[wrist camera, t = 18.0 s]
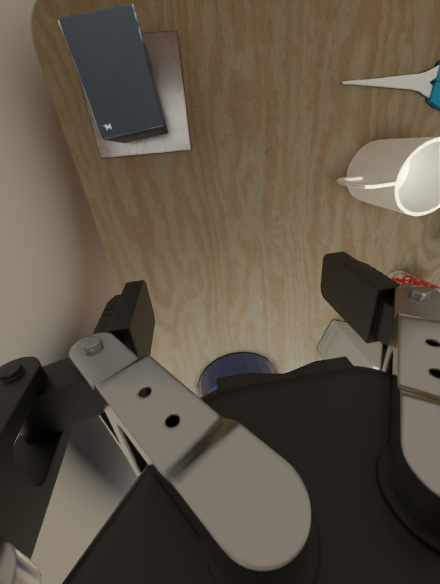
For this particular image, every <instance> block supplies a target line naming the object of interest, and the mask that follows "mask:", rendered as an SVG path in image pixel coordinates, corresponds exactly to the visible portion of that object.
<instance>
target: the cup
mask: <svg viewBox="0 0 440 584" xmlns="http://www.w3.org/2000/svg"><path fill="white" fill-rule="evenodd" d="M336 183H338V184H341V185H343V186H347V188H348V190H349V192H350V194H351V195H352V196H353V197H354V198H355V199H357V200H359V201H363V202H366V203H370V204H373V205H377V206H380V207H383V208H387V209H390V210H394V211H397V212H401V213H404V214H407V215H412V216H421V215H426V214H428V213H431V212H433V211H435V210H436V209H438V208H440V137H426V138H403V139H380V140H375V141H372V142H369V143H367V144H366V145H364V146H363V147H362V148H361V149H360V150H359V151H358V152H357V153H356V154H355V155H354V157H353V158H352V160H351V162H350V164H349V167H348V170H347V175H346V177H344V178H339V179H337V181H336Z"/></svg>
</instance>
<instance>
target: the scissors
mask: <svg viewBox="0 0 440 584" xmlns="http://www.w3.org/2000/svg"><path fill="white" fill-rule="evenodd" d="M430 81H432V82H434V83H431V84H430V83H429V82H430ZM341 84H346V85H360V86H373V87H384V88H394V89H405V90H413V91H417V92H419V93H421V94H422V95H424V96H425V97H427V100H426V102H427V103H428V104H430V105H431V106H432V107H433V108H435V109H438V110H440V61H439V62H437V65H436V67H434V68H432V69H430V70H428V71H426V72H424V73H420V74H414V75H404V76H395V77H386V78H377V79H366V80H355V81H344V82H341Z"/></svg>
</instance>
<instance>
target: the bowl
mask: <svg viewBox="0 0 440 584" xmlns="http://www.w3.org/2000/svg"><path fill="white" fill-rule="evenodd" d="M244 373H273V374H276V371H275V369H274V367H273V365H272V364H271V363H270V362H269V361H268V360H267V359H265V358H263V357H261V356H258V355H256V354H249V353H238V354H232V355H228V356H225V357H223V358H221V359H218V360H216V361H215V362H214V363H212V364H211V365H210V366H208V367H207V368H206V370H205V371H204V373H203V374H202V375H201V377H200V381H199V384H198V390H199V398H201V397H202V396H204V395H205V394H207V393H209V392H211V391H213V390H216V389H217V383H216V378H221V377H227V376H233V375H238V374H244Z"/></svg>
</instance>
